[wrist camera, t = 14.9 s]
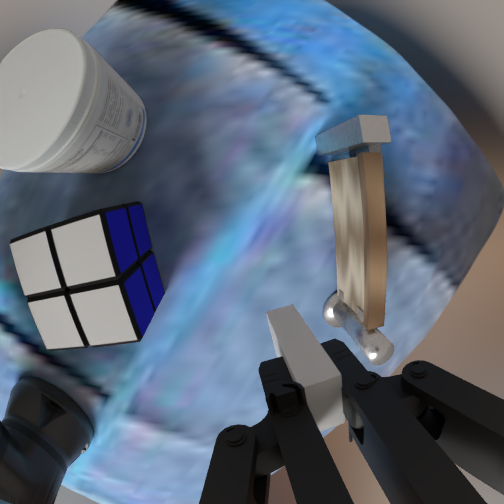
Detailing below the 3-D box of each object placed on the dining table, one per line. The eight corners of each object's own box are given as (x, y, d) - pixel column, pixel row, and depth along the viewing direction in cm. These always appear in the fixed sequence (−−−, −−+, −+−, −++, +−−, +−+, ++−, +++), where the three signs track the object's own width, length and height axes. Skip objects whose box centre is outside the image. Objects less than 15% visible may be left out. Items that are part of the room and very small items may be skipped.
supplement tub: (57, 124, 24) (-34, 98, 9) (125, 70, 23) (62, 0, 9) (92, 193, 26) (-2, 205, 12) (166, 138, 26) (112, 94, 11)
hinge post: (323, 329, 32) (358, 380, 22) (321, 294, 31) (360, 338, 21) (357, 321, 32) (400, 365, 22) (357, 287, 31) (405, 325, 21)
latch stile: (321, 180, 28) (368, 179, 18) (315, 136, 27) (358, 114, 17) (350, 178, 28) (405, 177, 18) (344, 135, 27) (396, 116, 17)
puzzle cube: (166, 294, 29) (143, 343, 19) (87, 309, 28) (46, 353, 19) (142, 200, 27) (102, 207, 17) (62, 224, 26) (6, 241, 16)
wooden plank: (348, 294, 30) (383, 325, 23) (335, 296, 30) (368, 329, 22) (340, 159, 27) (380, 152, 19) (326, 160, 27) (362, 152, 19)
